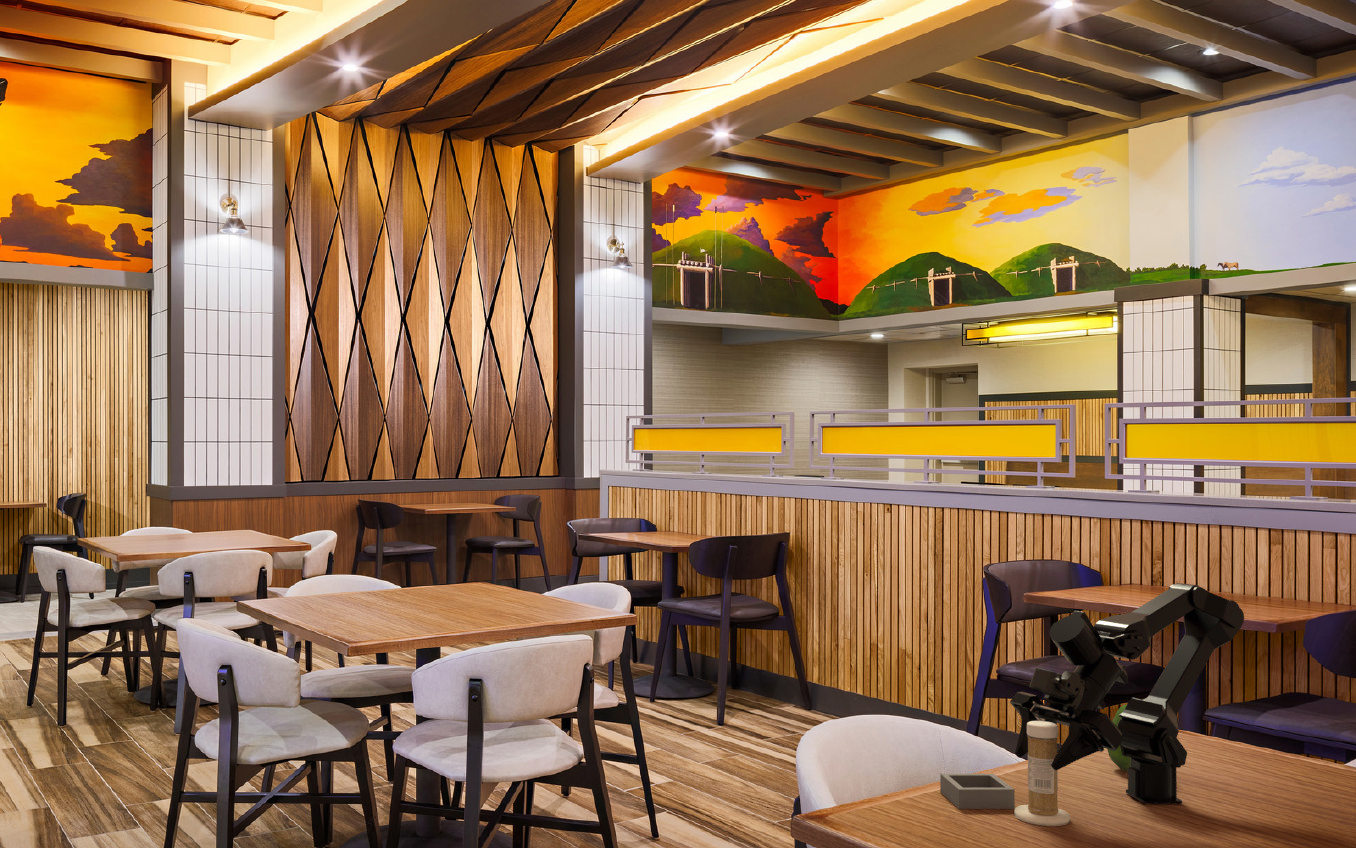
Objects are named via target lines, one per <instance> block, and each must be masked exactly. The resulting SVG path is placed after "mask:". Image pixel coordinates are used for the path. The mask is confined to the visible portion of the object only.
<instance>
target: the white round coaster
mask: <svg viewBox="0 0 1356 848" xmlns="http://www.w3.org/2000/svg"><path fill="white" fill-rule="evenodd" d="M1070 816H1071V815H1070V814H1069V812H1067V811H1066V810H1064V809H1061V808H1059V807H1058V813H1057V814H1054V815H1039V814H1036V813H1033V812H1031V811H1029V810H1028V804H1021V805H1018V806H1016V807H1015V809H1014V817H1015V818H1016V819H1018V820H1019V821H1022V822H1025V823H1028V824H1031V825H1036V826H1042V827H1043V826H1045V827H1061V826H1066V825H1068V824H1069V823H1070V822H1071V821H1070V818H1071V817H1070Z"/></svg>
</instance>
